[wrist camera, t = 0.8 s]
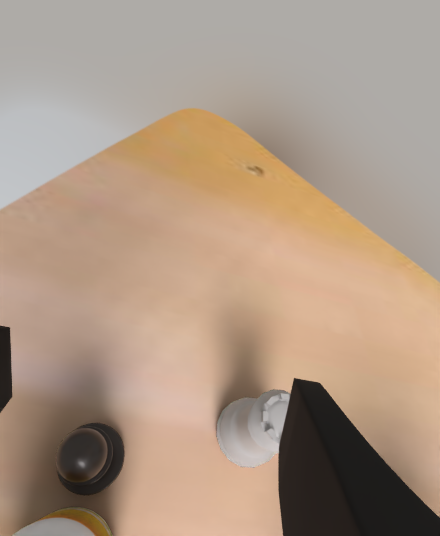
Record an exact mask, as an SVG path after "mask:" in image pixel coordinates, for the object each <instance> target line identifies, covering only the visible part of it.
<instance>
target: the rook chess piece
mask: <svg viewBox="0 0 440 536" xmlns="http://www.w3.org/2000/svg"><path fill="white" fill-rule="evenodd" d="M290 395H291V394H290V393H288V392H286V391H284V390H274V389H273V390H270V391H267V392H265V393H263V394H262V395H261V396H260V397H259V398H248V397H245V398H242V399H239V400H236V401H233V402H231V403H230V404H229V405H228V406H227V407H226V408H225V409H224V410H223V411H222V413H221V415H220V418H219V420H218V422H217V439H218V442H219V445H220V448H221V450H222V452H223V453H224V454H225V455H226V457H227V458H228V459H229V460H230V461H231V462H233V463H235V464H237V465H239V466H240V467H252V468H254V467H256V466H259V465H261V464H264V463H266V462H268V461H269V460H270V459H271V458H272V457H273V456H274V455H275V454H276V453H279V444H280V440H281V435H282V431H283V426H284V422H285V417H286V413H287V408H288V404H289V399H290Z"/></svg>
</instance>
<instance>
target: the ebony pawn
mask: <svg viewBox="0 0 440 536" xmlns="http://www.w3.org/2000/svg"><path fill="white" fill-rule="evenodd" d="M123 462H124V446H123V442H122V440H121V438H120V436H119V435H118V433H117V432H116V431H115V430H114V429H113V428H111V427H110V426H108V425H105V424H101V423H90V424H86V425H83V426H81V427H79V428H77V429H76V430H74V431H72V432H71V433H70V434H68V435H67V436H66V437H65V438H64V439H63V440H62V442H61V443H60V445H59V447H58V450H57V453H56V467H57V472H58V476H59V478H60V481H61V482H62V484H63V485H64V486H65V487H66V488H67V489H68V490H69V491H71V492H73V493H76V494H79V495H92V494H95V493H98V492H100V491H102V490H104V489H106V488H107V487H108V486H109V485H111V484H112V483H113V482H114V480H115V479H116V478H117V476H118V475H119V473H120V471H121V469H122V466H123Z"/></svg>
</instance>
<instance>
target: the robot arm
mask: <svg viewBox="0 0 440 536" xmlns="http://www.w3.org/2000/svg"><path fill="white" fill-rule="evenodd" d="M11 398H12V373H11V344H10V327H4V326H0V412H1V411H2V410H3V408H4V407H5V406H6V404H7V403H8V402H9V400H10V399H11ZM279 499H280V509H281V518H282V528H283V536H440V518H439V517H438V516H437V515H436V514H435V513H434V512H433V511H432V510H431V509H430V508H429V507H428V506H427V505H426V504H425V503H424V502H423V501H422V500H421V499H420V498H419V497H418V496H417V495H416V494H415V493H414V492H413V491H412V490H411V489H410V488H409V487H408V486H407V485H406V484H405V483H404V482H403V481H402V480H401V479H400V477H399V476H398V475H397V474H396V473H395V472H394V471H393V470H392V469H391V468H390V467H389V466H388V465H387V464H386V462H385V461H384V460H383V459H382V458H381V457H380V456H379V455H378V453H377V452H376V451H375V450H374V449H373V448H372V447H371V445H370V444H369V443H368V442H367V441H366V440H365V438H364V437H363V436H362V435H361V434H360V432H359V431H358V430H357V429H356V427H355V426H354V425H353V424H352V423H351V421H350V420H349V419H348V418H347V416H346V415H345V414H344V413H343V411H342V410H341V409H340V408H339V406H338V405H337V404H336V402H335V401H334V400H333V399H332V397H331V396H330V395H329V394H328V392H327V391H326V390H325V389H324V387H323V386H322V385H321V384H320V383H318V382H312V381H307V380H301V379H296V378H294V381H293V386H292V390H291V395H290V399H289V404H288V408H287V413H286V417H285V422H284V426H283V431H282V435H281V440H280V444H279Z"/></svg>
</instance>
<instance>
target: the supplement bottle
mask: <svg viewBox="0 0 440 536" xmlns="http://www.w3.org/2000/svg"><path fill="white" fill-rule="evenodd" d="M12 536H112V533H111V531H110V529H109V527H108V525H107V523H106V522H105V521H104V520H103V518H102V517H101V516H99V515H98V514H97V513H95V512H93V511H91V510H89V509H86V508H81V507H69V508H63V509H60V510H57V511H55V512H53V513H51V514H49V515H47V516H45V517H43V518H41V519H39V520H37V521H35V522H33V523H31V524H29V525H27V526H26V527H24V528H22V529H20V530H19V531H17V532H16V533H15V534H13V535H12Z"/></svg>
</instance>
